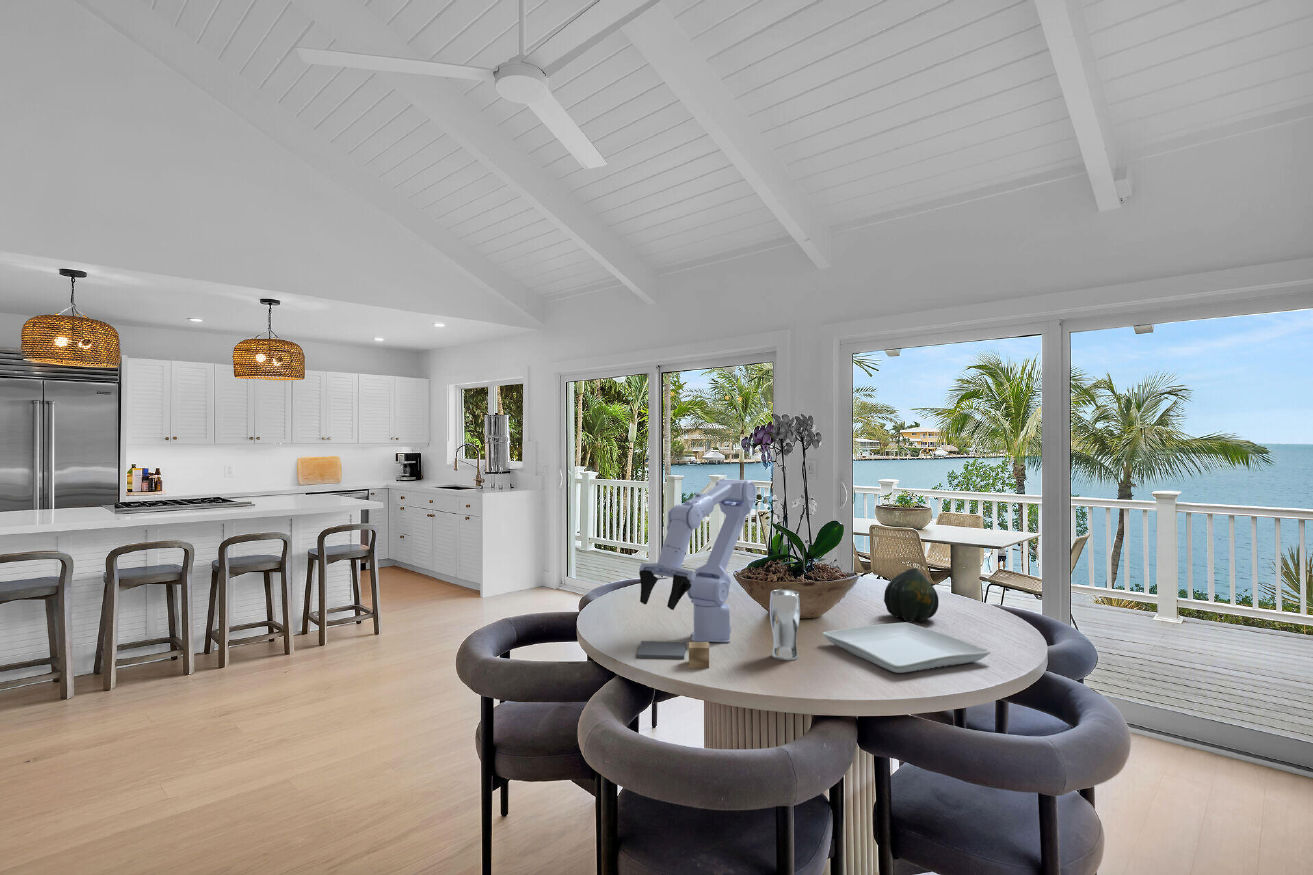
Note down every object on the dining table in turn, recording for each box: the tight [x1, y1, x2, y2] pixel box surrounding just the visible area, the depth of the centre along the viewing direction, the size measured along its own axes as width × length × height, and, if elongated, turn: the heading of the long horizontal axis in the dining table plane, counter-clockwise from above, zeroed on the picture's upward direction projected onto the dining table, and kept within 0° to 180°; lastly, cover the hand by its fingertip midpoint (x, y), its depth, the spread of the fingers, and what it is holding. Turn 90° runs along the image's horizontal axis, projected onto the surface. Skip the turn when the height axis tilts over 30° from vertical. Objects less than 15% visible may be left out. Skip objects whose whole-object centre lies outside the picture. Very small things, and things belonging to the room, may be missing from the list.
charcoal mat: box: [636, 640, 686, 660], centre depth 160 cm, size 11×11×1 cm
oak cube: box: [688, 641, 710, 669], centre depth 150 cm, size 4×4×4 cm
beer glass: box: [769, 589, 801, 662], centre depth 156 cm, size 7×7×15 cm
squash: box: [883, 567, 939, 623], centre depth 190 cm, size 14×15×15 cm
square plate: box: [822, 621, 991, 674], centre depth 157 cm, size 27×27×4 cm
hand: (656, 605), depth 154 cm, fingers open, 7 cm apart
